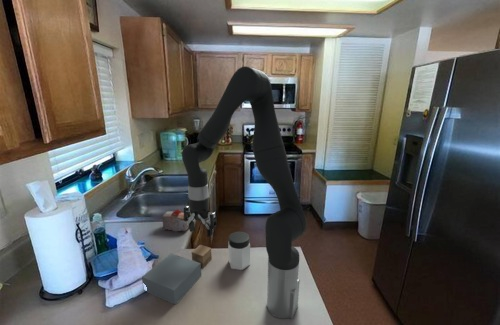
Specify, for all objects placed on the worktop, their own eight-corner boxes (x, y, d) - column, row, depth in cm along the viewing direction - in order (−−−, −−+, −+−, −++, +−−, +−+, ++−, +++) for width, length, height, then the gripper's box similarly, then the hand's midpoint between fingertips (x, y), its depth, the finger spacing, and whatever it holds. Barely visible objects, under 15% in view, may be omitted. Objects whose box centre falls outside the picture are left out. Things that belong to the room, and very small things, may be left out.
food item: (193, 225, 123) (192, 208, 121) (187, 233, 116) (186, 215, 113) (168, 223, 125) (167, 206, 122) (161, 231, 117) (159, 213, 115)
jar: (227, 258, 98) (226, 232, 95) (245, 254, 100) (245, 229, 97) (231, 272, 90) (231, 245, 86) (252, 268, 92) (252, 241, 89)
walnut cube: (211, 259, 97) (211, 248, 95) (203, 268, 92) (202, 255, 91) (200, 255, 99) (200, 244, 98) (192, 263, 94) (191, 252, 93)
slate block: (201, 276, 88) (200, 263, 86) (175, 305, 76) (174, 290, 74) (172, 266, 93) (171, 253, 92) (143, 291, 81) (141, 276, 80)
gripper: (220, 195, 88) (221, 233, 93) (190, 188, 95) (192, 224, 99) (208, 203, 82) (209, 243, 86) (177, 195, 88) (180, 233, 92)
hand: (200, 233), depth 93 cm, fingers open, 8 cm apart
